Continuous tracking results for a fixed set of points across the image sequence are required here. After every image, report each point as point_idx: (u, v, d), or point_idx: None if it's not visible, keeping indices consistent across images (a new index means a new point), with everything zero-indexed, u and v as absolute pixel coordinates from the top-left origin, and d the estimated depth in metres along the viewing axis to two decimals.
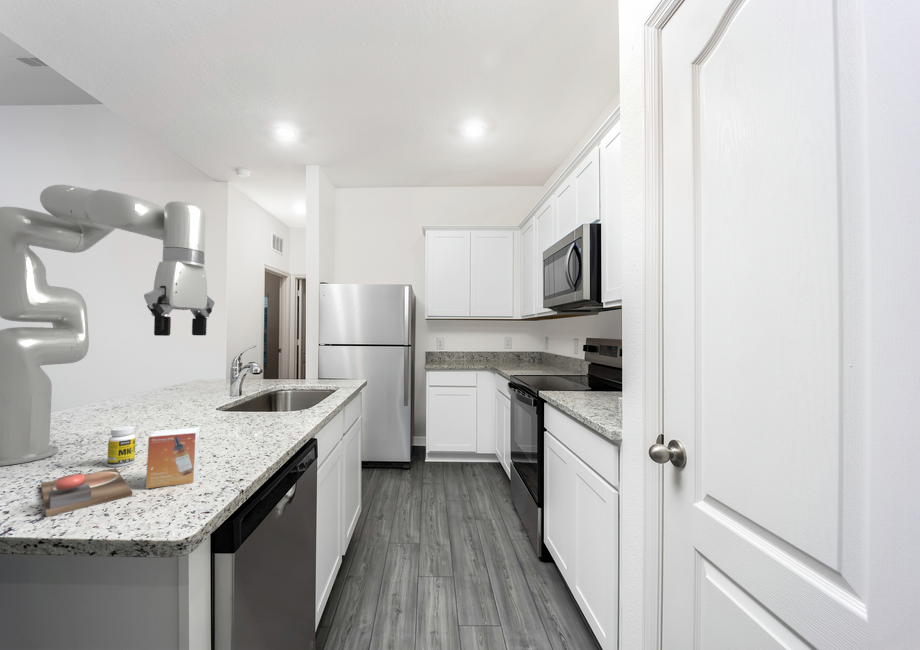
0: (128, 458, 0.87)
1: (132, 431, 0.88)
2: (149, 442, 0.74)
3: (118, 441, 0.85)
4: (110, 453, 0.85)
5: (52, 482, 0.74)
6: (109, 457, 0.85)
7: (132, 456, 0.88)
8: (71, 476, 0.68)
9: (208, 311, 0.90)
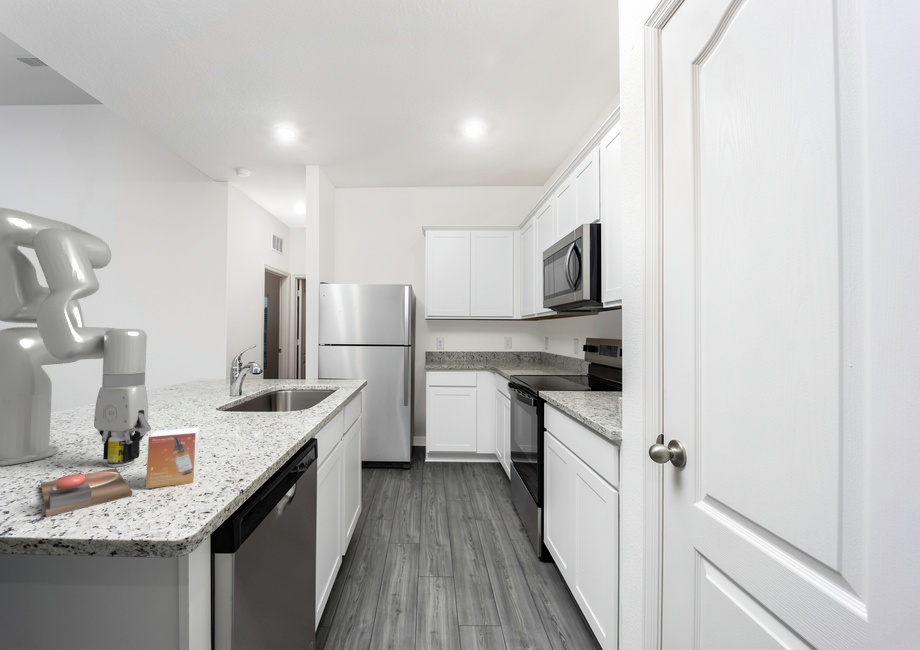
0: None
1: None
2: (149, 442, 0.74)
3: (118, 441, 0.85)
4: (110, 453, 0.85)
5: (52, 482, 0.74)
6: (109, 457, 0.85)
7: None
8: (71, 476, 0.68)
9: None
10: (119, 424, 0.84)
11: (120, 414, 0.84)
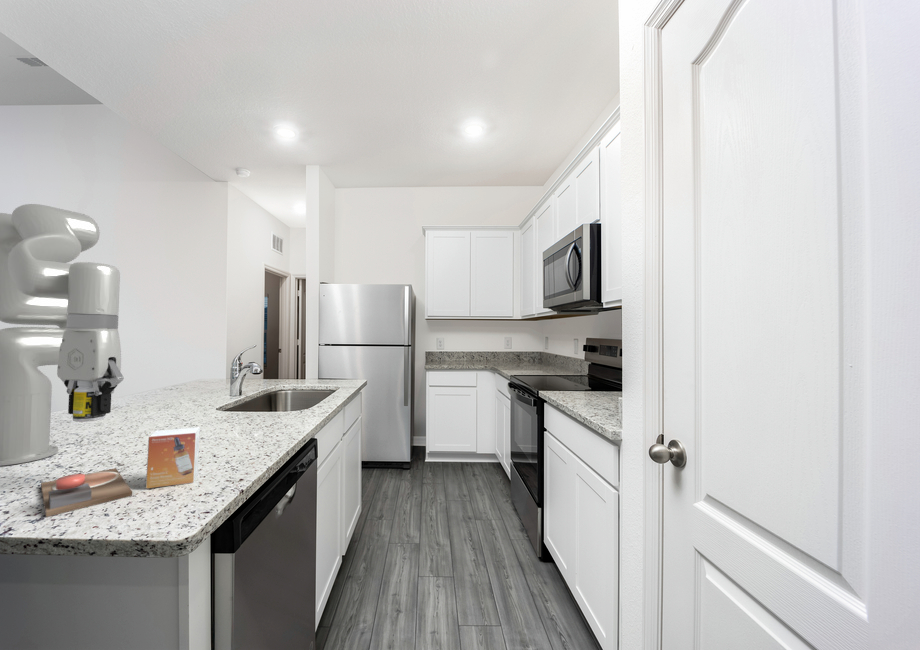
0: None
1: (102, 382, 0.76)
2: (149, 442, 0.74)
3: (86, 392, 0.74)
4: (76, 406, 0.73)
5: (52, 482, 0.74)
6: (75, 410, 0.73)
7: None
8: (71, 476, 0.68)
9: None
10: (86, 371, 0.72)
11: (87, 360, 0.72)
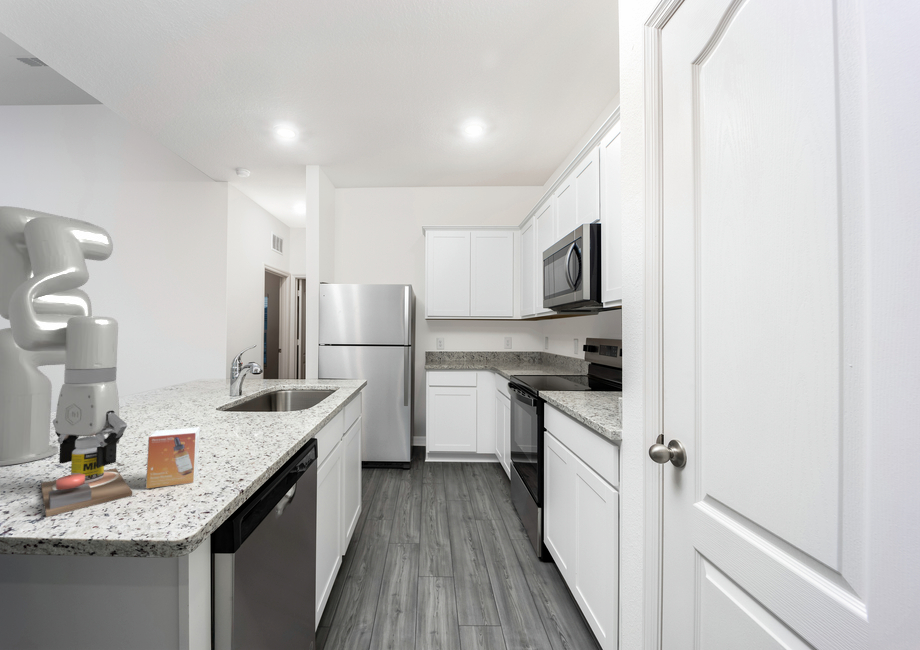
0: (95, 473, 0.75)
1: None
2: (149, 442, 0.74)
3: (84, 454, 0.73)
4: (73, 468, 0.73)
5: (52, 482, 0.74)
6: (72, 473, 0.73)
7: (100, 471, 0.76)
8: (71, 476, 0.68)
9: None
10: (84, 427, 0.72)
11: (85, 415, 0.72)
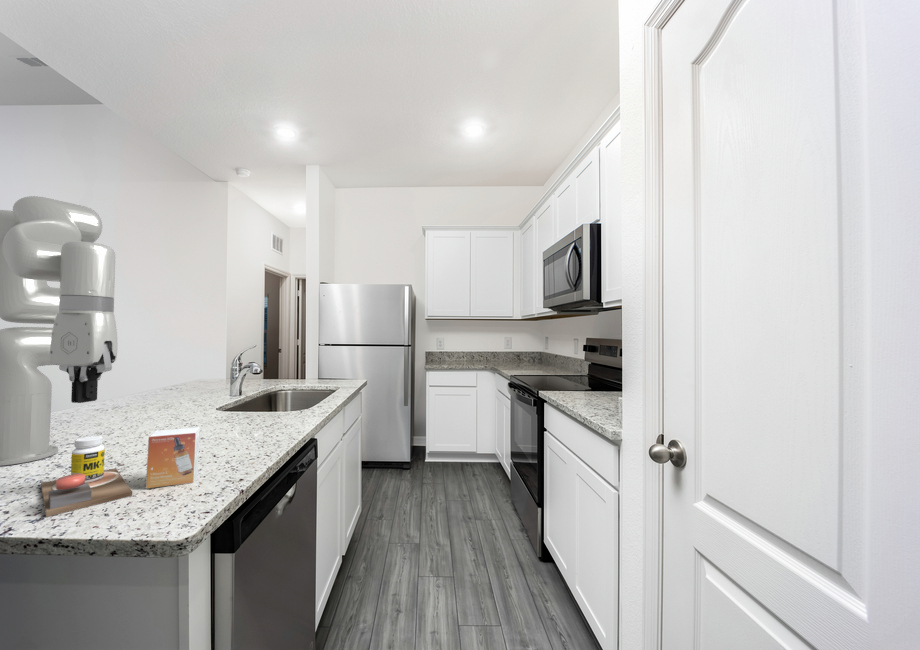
0: (95, 473, 0.75)
1: (100, 442, 0.76)
2: (149, 442, 0.74)
3: (83, 454, 0.73)
4: (73, 468, 0.73)
5: (52, 482, 0.74)
6: (72, 473, 0.73)
7: (100, 471, 0.76)
8: (71, 476, 0.68)
9: None
10: (80, 356, 0.69)
11: (81, 343, 0.69)
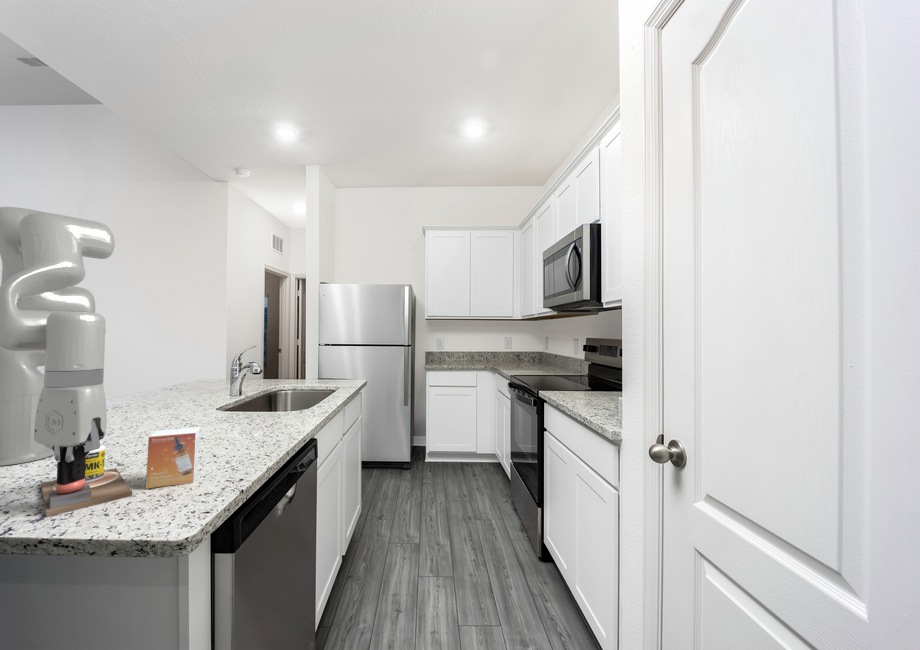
0: (96, 473, 0.75)
1: (101, 442, 0.76)
2: (149, 442, 0.74)
3: None
4: None
5: (52, 482, 0.74)
6: None
7: (101, 471, 0.76)
8: None
9: None
10: (66, 436, 0.64)
11: (67, 423, 0.64)
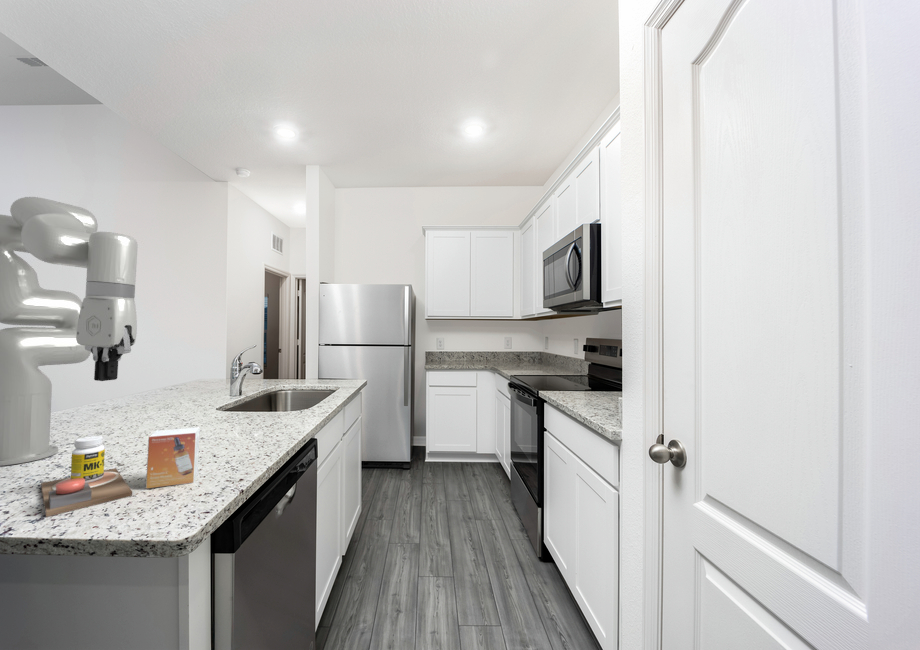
0: (96, 473, 0.75)
1: (100, 442, 0.76)
2: (149, 442, 0.74)
3: (84, 454, 0.73)
4: (74, 468, 0.73)
5: (52, 482, 0.74)
6: (73, 473, 0.73)
7: (101, 471, 0.76)
8: (71, 480, 0.68)
9: None
10: (103, 338, 0.75)
11: (104, 327, 0.75)
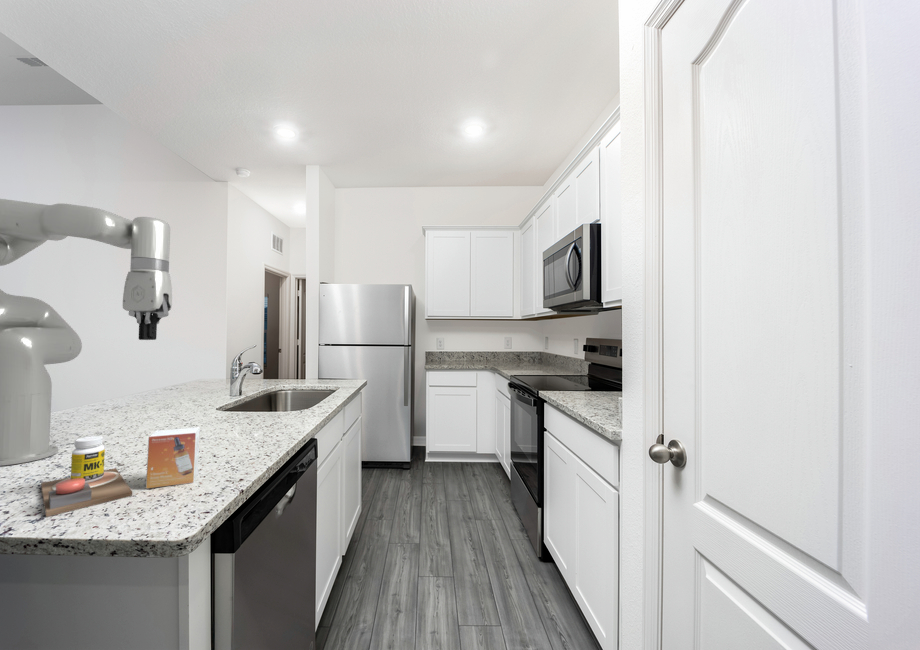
0: (96, 473, 0.75)
1: (100, 442, 0.76)
2: (149, 442, 0.74)
3: (84, 454, 0.73)
4: (74, 468, 0.73)
5: (52, 482, 0.74)
6: (73, 473, 0.73)
7: (101, 471, 0.76)
8: (71, 480, 0.68)
9: None
10: (146, 303, 0.91)
11: (147, 294, 0.91)
